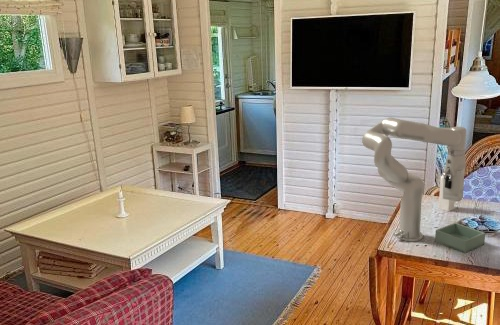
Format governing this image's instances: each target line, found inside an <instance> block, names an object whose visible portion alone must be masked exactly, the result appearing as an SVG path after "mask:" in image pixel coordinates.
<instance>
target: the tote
mask: <svg viewBox="0 0 500 325" xmlns="http://www.w3.org/2000/svg"><path fill="white" fill-rule="evenodd" d="M434 235H435V240H434V242H435V243H437V244H440V245H442V246H446V247H448V248H450V249H452V250H455V251H457V252H461V253H462V254H467V253H469V252H471V251H473V250H474V251H475V250H476V249H478V248H480V247H483V246H485V240H486V233H485V232H483V231H480V230H478V229H474V228H471V227H469V226H466V225H464V224H463V225H462V224H461V223H460V224H459V223H457V222H453V223H450V224H449V225H448V224H447V225H446V226H443V227H440V228H437V229H435V234H434Z"/></svg>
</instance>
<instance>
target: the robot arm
mask: <svg viewBox="0 0 500 325" xmlns="http://www.w3.org/2000/svg"><path fill="white" fill-rule="evenodd" d="M389 136H390V137H394V138H396V139H403V140H411V141H416V142H422V143H428V144H435V145H441V146H447V156H446V160H445V166H444V169H445V171H444V170H443V172H442V175H443V176H444V179H445V188H448V189H451V184H452V181H451V179H452V177H453V176H456V173H457V171H458V170H462V169H465V170H464V174H465V173H466V170H467V167H466V155H465V153H466V152H465V151H466V141H467V129H466V128H465V127H463V126H452V127H443V126H442V127H437V126H434V125H430V124H427V123H423V122H415V121H409V120H406V119H399V118H395V117H387V118H385V119H382V120H381V121H380V122H378V123H376V124H375V125H374V126H372V127H371V128H370V129H368V130H367V131H365V132H364V134H363V135H362V138H361V141H362V142H361V143H362V145H363V146H364V147H365V148H366V149H368V150H370V151H371V150H372V151H374V155H373V162H374V165H375V166H376V168H377V173H378V175H379V176H380V178H382V179H383V180H384V181H386V182H387V183H388V184H389V185H391V186H392V187H393V188H395V189H397V190H399V191H400V192H402V193H403V194H402V197H401V200H400V204H399V205H400V207H399V208H400V211H399V212H400V213H399V214H400V215H399V227H398V230H397V231H396V232H393V237H394V238H398V239H399V240H402V241H406V242H419V241H422V240H423V238H424V234H423V233H422V232H421V221H422V220H421V218H422V215H421V214H422V202H423V201H422V200H423V194H424V191H425V182H424V181H423V179H422V178H420V177H419V176H417V175H415V174H412V173H409V172H408V171H409V170H408V169H407V168H406V167H405V165H404V164H402V163H400V162H399V160H397V159H396V158H395V157H394V156H393V155H392V147H393V144H392V143H393V142H392V140H391V138H390V137H389ZM449 171H450V174H451V175H450V174H448V172H449ZM448 176H450V178H449V177H448Z"/></svg>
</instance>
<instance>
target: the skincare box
mask: <svg viewBox="0 0 500 325" xmlns="http://www.w3.org/2000/svg"><path fill="white" fill-rule="evenodd" d="M464 170H465V169H462V170H458V171H457V173H456V176H453V177H452V179H451V181H452V184H451V189H448V188H445V179H444V178H443V199H447V200H453V201H455V202H460V201H461V200H462V199H463V198H464V188H465V187H464V186H465V173H464ZM444 171H445V168H444V169H443V172H444ZM465 171H466V170H465ZM448 174H450V171H449V172H448ZM450 175H451V174H450ZM448 177H449V178H450V176H448Z"/></svg>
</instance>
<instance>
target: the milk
mask: <svg viewBox="0 0 500 325" xmlns="http://www.w3.org/2000/svg"><path fill="white" fill-rule="evenodd" d="M443 178H444V176H443V174H442V175H441V176H440V182H439V196H438V197H439V199H438V209H439V210H442V211H445V212H451V211H453V210H454V209H455V202H456V201H453V200H447V199H443Z"/></svg>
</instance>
